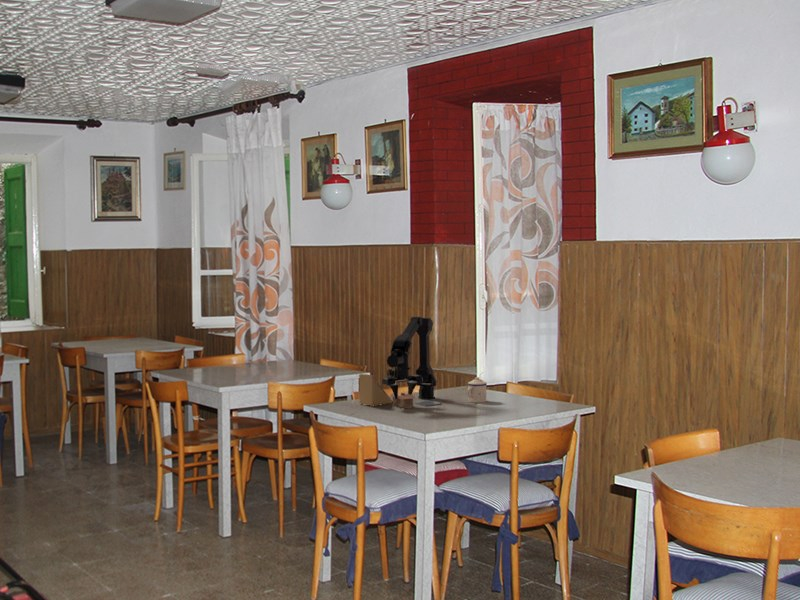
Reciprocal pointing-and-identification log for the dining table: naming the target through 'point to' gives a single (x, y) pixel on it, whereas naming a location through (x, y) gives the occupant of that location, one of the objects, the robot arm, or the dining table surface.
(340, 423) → the dining table surface
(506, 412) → the dining table surface
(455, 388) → the dining table surface
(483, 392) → the white printed mug
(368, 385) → the sandwich container
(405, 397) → the lid
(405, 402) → the tea box
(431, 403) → the coaster
